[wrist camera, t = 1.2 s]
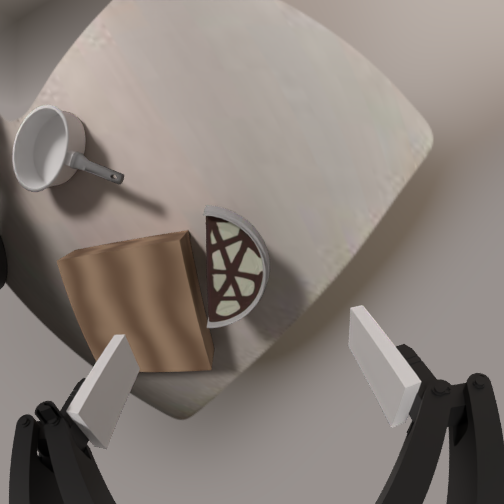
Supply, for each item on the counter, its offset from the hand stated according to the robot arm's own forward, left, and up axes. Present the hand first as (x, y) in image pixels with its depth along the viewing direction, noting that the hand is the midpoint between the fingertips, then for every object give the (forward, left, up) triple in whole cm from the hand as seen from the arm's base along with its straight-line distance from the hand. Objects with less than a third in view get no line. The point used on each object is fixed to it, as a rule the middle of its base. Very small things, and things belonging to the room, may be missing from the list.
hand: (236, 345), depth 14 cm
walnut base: (-15, -6, -21) cm, 26 cm away
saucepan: (-20, +16, -21) cm, 33 cm away
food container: (0, 0, -21) cm, 21 cm away
